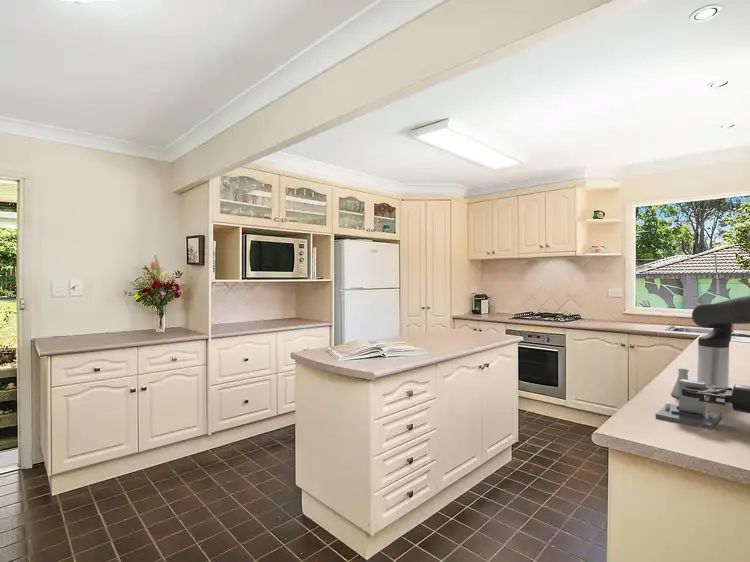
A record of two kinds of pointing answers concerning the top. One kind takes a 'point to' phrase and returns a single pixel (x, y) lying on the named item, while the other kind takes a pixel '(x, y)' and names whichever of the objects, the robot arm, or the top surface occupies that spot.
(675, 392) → the flask
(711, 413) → the gray docking base
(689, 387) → the drive
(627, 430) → the top surface
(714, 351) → the robot arm
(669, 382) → the top surface
